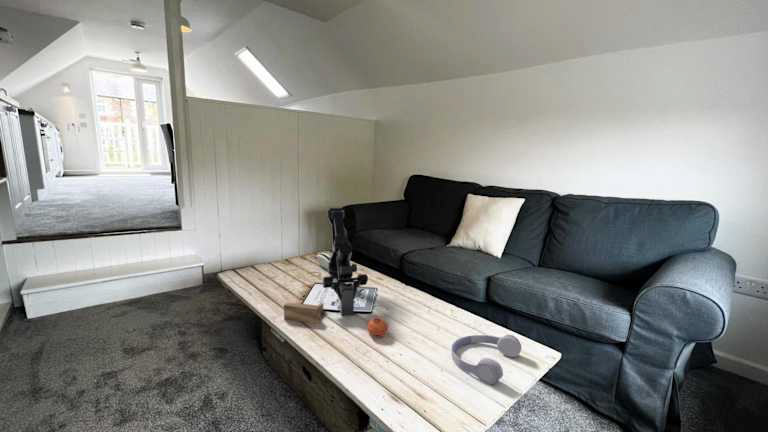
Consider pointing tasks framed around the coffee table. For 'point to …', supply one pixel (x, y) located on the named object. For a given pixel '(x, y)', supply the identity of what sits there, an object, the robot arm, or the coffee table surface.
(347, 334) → the coffee table surface
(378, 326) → the pot
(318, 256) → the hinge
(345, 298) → the stepped grey pillar
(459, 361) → the headphones
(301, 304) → the brown wooden frame
